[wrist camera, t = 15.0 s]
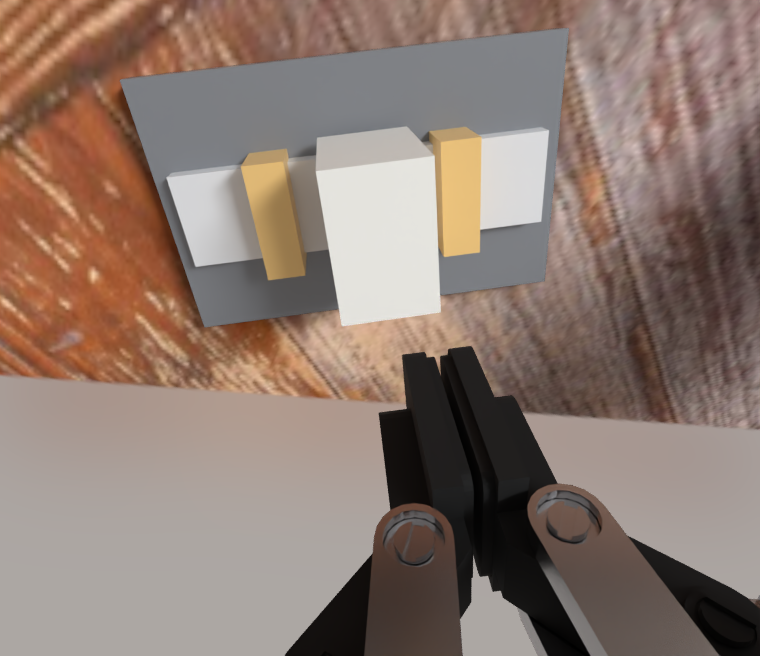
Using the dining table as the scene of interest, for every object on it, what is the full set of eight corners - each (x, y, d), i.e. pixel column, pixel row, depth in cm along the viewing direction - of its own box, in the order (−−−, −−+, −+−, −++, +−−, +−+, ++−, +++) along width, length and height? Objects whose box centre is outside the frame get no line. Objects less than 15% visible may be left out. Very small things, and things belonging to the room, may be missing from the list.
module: (406, 126, 24) (434, 155, 18) (415, 256, 28) (440, 316, 22) (317, 137, 24) (315, 171, 18) (338, 267, 28) (342, 329, 22)
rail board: (556, 28, 25) (598, 27, 21) (535, 271, 32) (564, 303, 29) (130, 77, 24) (94, 85, 20) (209, 315, 32) (193, 354, 28)
